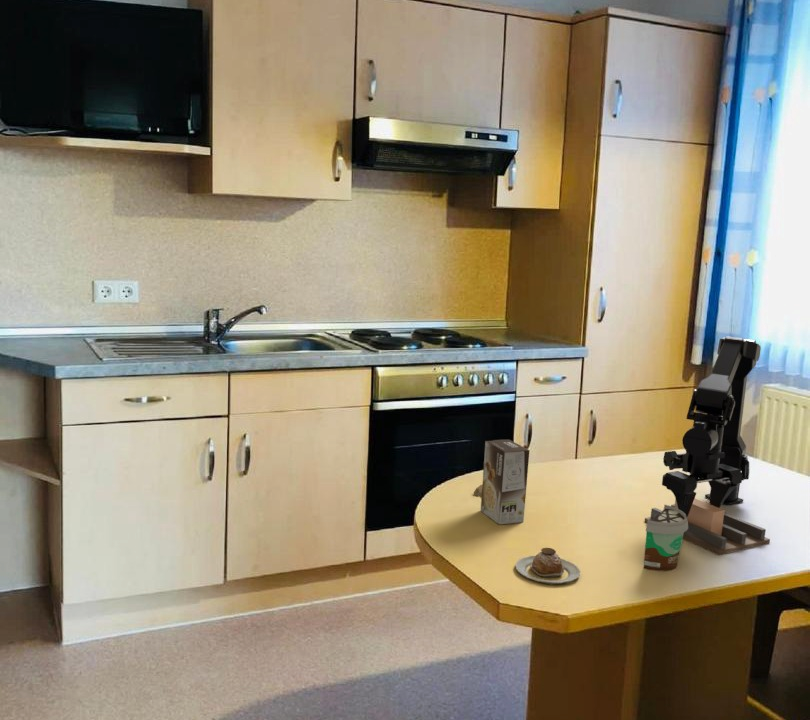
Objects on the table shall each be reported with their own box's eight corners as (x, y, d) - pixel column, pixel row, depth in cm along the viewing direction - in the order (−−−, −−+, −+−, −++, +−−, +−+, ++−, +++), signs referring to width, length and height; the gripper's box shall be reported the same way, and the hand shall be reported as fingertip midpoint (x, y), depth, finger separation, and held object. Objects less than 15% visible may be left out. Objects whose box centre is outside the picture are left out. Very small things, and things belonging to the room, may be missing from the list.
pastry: (572, 562, 170) (574, 539, 169) (586, 589, 158) (588, 565, 157) (510, 559, 170) (512, 537, 169) (520, 586, 158) (522, 562, 157)
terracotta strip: (683, 521, 193) (686, 495, 192) (721, 537, 185) (724, 510, 183) (672, 523, 191) (675, 497, 190) (709, 539, 183) (713, 512, 182)
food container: (673, 579, 164) (679, 528, 162) (641, 570, 167) (646, 520, 165) (690, 559, 174) (696, 510, 172) (659, 551, 177) (665, 503, 175)
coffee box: (525, 522, 189) (531, 450, 186) (498, 525, 186) (505, 452, 183) (503, 508, 197) (509, 438, 194) (478, 510, 194) (484, 440, 192)
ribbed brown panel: (694, 511, 202) (695, 499, 201) (769, 542, 185) (771, 529, 185) (644, 521, 194) (646, 508, 193) (718, 554, 177) (720, 540, 176)
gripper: (705, 432, 196) (697, 499, 199) (646, 439, 186) (638, 510, 189) (748, 445, 187) (738, 515, 189) (687, 454, 177) (679, 527, 180)
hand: (697, 516), depth 187 cm, fingers open, 9 cm apart
